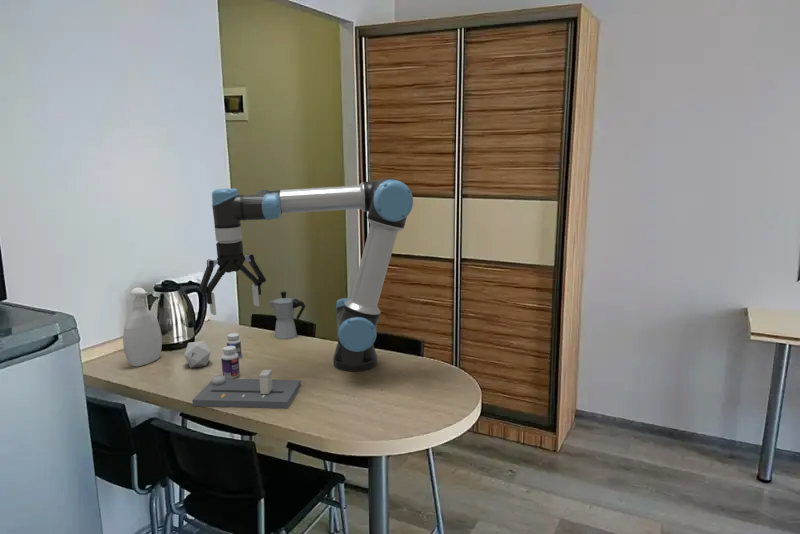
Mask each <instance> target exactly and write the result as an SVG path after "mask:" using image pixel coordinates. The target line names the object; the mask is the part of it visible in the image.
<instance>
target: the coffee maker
mask: <svg viewBox="0 0 800 534" xmlns="http://www.w3.org/2000/svg"><path fill="white" fill-rule="evenodd" d="M280 296H281V297H279V298H277V299H274V300H271V301H270V300H269V301H268V303H270V306H271V307H272V309H273V310H274V313H275V318H276V322H275V328H274V329H275V330H274V338H275V339H277V340H291V339H295V338H296V337H297V336H298V334H297V332H298V331H297V329H296V324H295V320H294V315H295V309H296V308H298V307H299V308H300V307H301V308H300V310H299V312H298V314H297V315H296V317H295V319H296V320H299V319H300V317H301V315H302V314H303V313H304V310H305V309H306V305H305V302H304V301H302V300H299V299H298V298H291V297H287V291H284V290H283V291H280Z"/></svg>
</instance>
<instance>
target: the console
mask: <svg viewBox="0 0 800 534" xmlns="http://www.w3.org/2000/svg"><path fill="white" fill-rule="evenodd" d="M301 387H302V380H301V379H276V378H275V379H273V378H272V390H271V391H270V393H269V394H261V393H260V378H232V379H226V378H225V376H223V375H215V376H213V377H212V378H211V380H210V381H209V383H207V385H205V386H204V387H203V389H202V390H200V391H199V392H198V393H197V395H195V396H194V398H192V400H191V401H192V407H205V408H206V407H207V408H208V407H210V408H211V407H213V408H247V409H248V408H249V409H250V408H251V409H252V408H256V409H288V408H289V407H290V405H291V404H292V402H293V400H294V398H295V396H296V395H297V393H298V392H299V390H300V389H301Z"/></svg>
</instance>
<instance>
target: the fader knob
mask: <svg viewBox="0 0 800 534" xmlns="http://www.w3.org/2000/svg"><path fill="white" fill-rule="evenodd" d="M272 373H273V371H272V369H263V370H262V371H261V372H260V373H259V374H258V379H260V393H261V394H269V393H270V391H271V390H272V379H273V377H272V376H273V375H272Z"/></svg>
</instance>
